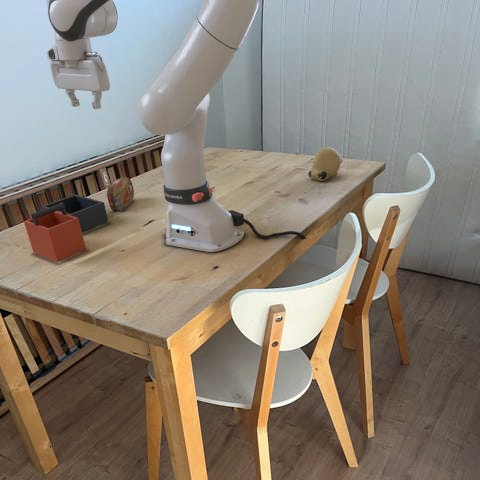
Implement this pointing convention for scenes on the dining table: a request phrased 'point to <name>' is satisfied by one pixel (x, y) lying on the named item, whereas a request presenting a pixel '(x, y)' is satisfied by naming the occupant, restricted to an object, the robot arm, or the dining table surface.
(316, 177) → the beige plush toy
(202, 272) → the dining table surface
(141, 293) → the dining table surface
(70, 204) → the slate bin
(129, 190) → the tin
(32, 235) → the terracotta bin
